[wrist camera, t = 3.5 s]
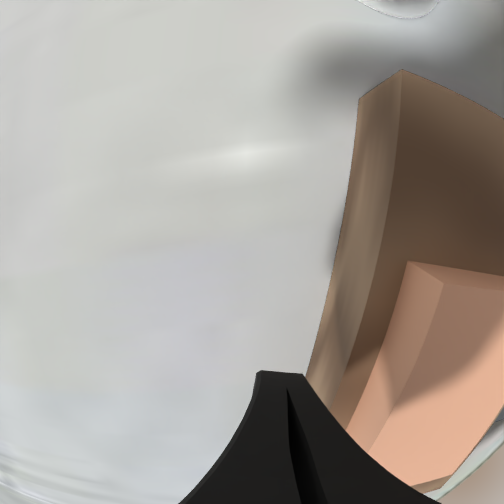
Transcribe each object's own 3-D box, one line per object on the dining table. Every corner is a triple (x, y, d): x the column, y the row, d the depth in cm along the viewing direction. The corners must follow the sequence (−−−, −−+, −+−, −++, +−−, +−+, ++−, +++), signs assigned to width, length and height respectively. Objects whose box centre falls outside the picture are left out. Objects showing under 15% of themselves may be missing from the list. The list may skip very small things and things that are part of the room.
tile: (437, 447, 10) (451, 474, 8) (328, 462, 10) (336, 498, 8) (519, 279, 8) (552, 296, 6) (407, 260, 8) (443, 283, 6)
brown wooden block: (421, 450, 15) (440, 488, 12) (277, 462, 15) (279, 512, 11) (525, 168, 11) (575, 173, 7) (358, 99, 10) (401, 69, 6)
